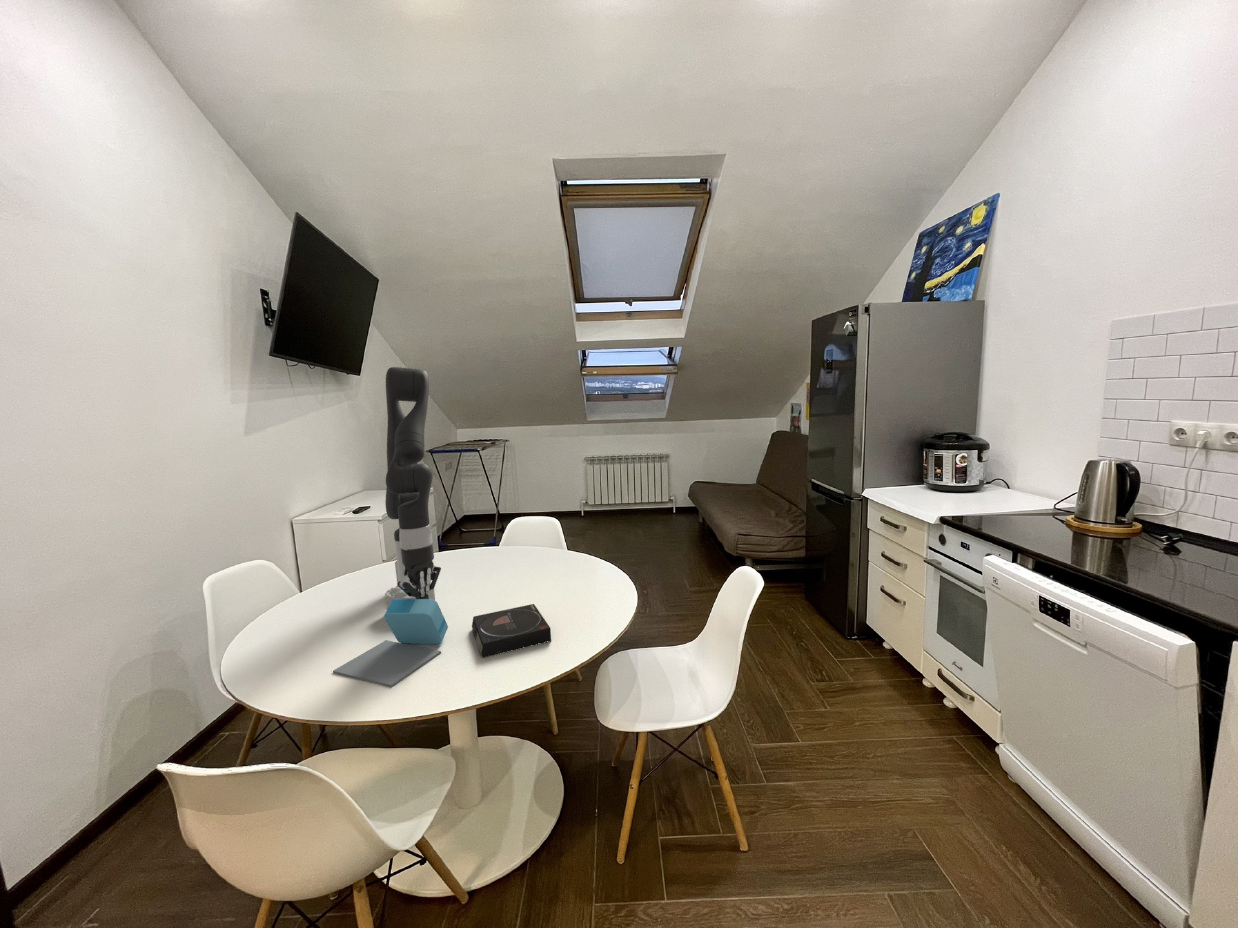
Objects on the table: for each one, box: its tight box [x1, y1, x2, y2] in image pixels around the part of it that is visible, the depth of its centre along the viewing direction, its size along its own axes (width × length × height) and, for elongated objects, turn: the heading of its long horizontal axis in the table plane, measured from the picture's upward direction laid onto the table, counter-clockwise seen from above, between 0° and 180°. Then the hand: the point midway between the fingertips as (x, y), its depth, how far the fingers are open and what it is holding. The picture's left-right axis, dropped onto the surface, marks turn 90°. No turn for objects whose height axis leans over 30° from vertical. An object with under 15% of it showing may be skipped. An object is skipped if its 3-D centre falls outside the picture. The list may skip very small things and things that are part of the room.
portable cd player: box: [471, 603, 552, 658], centre depth 127 cm, size 16×17×4 cm
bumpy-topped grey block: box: [384, 584, 436, 610], centre depth 142 cm, size 10×13×9 cm
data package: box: [383, 599, 449, 645], centre depth 123 cm, size 12×4×12 cm, turn 84°
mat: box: [332, 639, 442, 688], centre depth 116 cm, size 18×15×1 cm
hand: (423, 609), depth 126 cm, fingers closed
